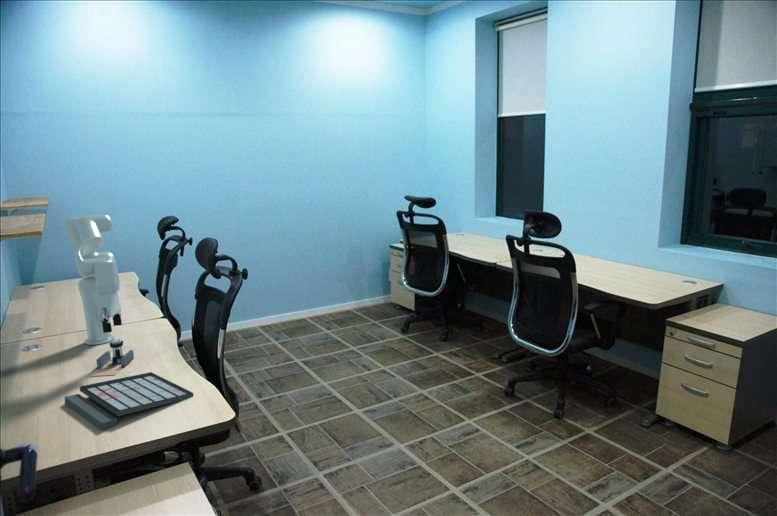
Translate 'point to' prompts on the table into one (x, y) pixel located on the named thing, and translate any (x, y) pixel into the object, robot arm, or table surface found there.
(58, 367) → the table surface
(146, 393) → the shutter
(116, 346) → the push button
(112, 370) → the mat
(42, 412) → the table surface
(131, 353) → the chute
